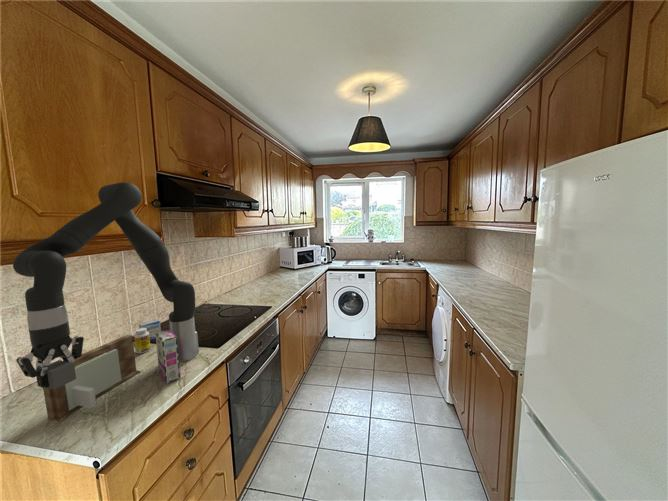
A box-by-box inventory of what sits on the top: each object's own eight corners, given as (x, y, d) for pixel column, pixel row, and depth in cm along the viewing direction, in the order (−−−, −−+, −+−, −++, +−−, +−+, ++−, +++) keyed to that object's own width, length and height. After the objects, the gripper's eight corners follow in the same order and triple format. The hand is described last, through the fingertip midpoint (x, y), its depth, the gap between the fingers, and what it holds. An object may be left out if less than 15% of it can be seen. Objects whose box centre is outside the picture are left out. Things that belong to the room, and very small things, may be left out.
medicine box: (143, 342, 131) (141, 325, 130) (140, 340, 133) (138, 323, 132) (161, 337, 137) (160, 320, 136) (158, 334, 140) (156, 318, 139)
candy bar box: (181, 378, 101) (177, 336, 99) (166, 384, 97) (161, 341, 95) (173, 367, 109) (169, 328, 107) (158, 372, 105) (154, 332, 103)
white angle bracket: (118, 379, 99) (114, 348, 97) (136, 382, 97) (132, 351, 95) (66, 410, 84) (60, 374, 82) (85, 414, 81) (80, 377, 80)
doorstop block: (61, 376, 79) (58, 360, 78) (76, 378, 78) (73, 362, 77) (39, 386, 74) (36, 369, 74) (54, 389, 73) (51, 372, 72)
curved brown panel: (131, 370, 106) (127, 334, 105) (140, 372, 105) (136, 335, 103) (48, 418, 82) (40, 372, 80) (58, 421, 80) (51, 374, 79)
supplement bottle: (142, 354, 119) (139, 332, 118) (132, 353, 121) (130, 331, 119) (153, 348, 124) (151, 327, 123) (144, 347, 126) (142, 326, 125)
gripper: (70, 313, 82) (77, 366, 84) (2, 332, 68) (13, 395, 70) (88, 314, 80) (95, 368, 82) (22, 335, 66) (33, 399, 68)
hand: (57, 380), depth 76 cm, fingers closed on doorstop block, 5 cm apart
